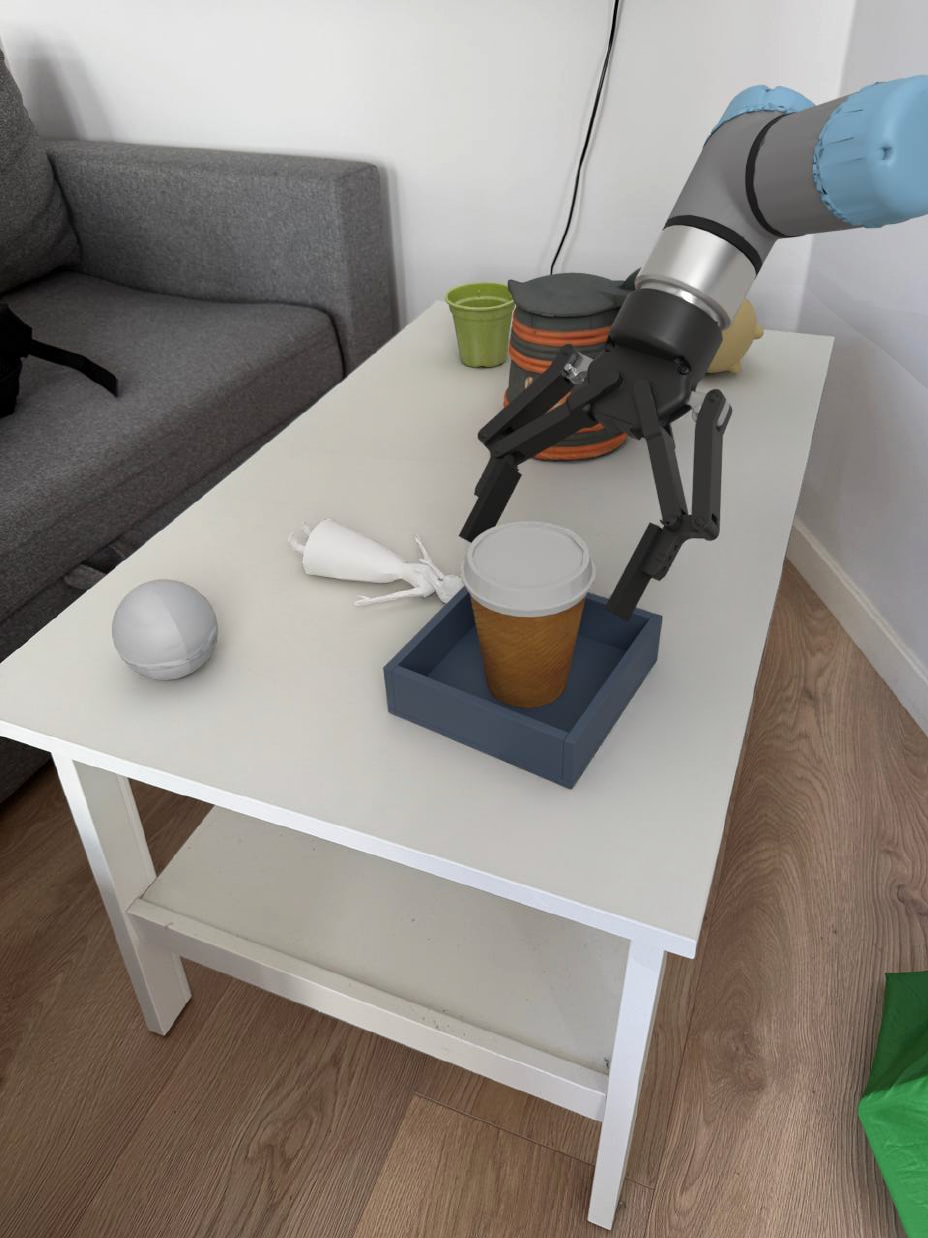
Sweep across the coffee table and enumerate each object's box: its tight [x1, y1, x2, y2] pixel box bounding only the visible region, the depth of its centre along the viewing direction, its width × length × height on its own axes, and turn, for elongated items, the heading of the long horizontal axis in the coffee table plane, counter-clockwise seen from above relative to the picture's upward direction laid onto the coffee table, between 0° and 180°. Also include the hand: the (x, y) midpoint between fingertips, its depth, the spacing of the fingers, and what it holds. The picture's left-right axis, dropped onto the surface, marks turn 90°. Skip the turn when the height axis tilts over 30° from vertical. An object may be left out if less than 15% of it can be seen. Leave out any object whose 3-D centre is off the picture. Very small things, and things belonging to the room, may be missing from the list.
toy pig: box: [706, 296, 765, 374], centre depth 114 cm, size 10×12×11 cm
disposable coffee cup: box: [460, 520, 597, 708], centre depth 68 cm, size 10×10×12 cm
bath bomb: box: [111, 578, 219, 681], centre depth 73 cm, size 8×8×8 cm
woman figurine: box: [288, 518, 464, 608], centre depth 82 cm, size 12×4×18 cm
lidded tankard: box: [502, 266, 642, 462], centre depth 98 cm, size 19×15×20 cm
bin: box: [382, 585, 664, 790], centre depth 70 cm, size 16×16×5 cm
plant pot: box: [444, 281, 516, 368], centre depth 119 cm, size 9×9×9 cm
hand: (539, 577), depth 66 cm, fingers open, 13 cm apart
